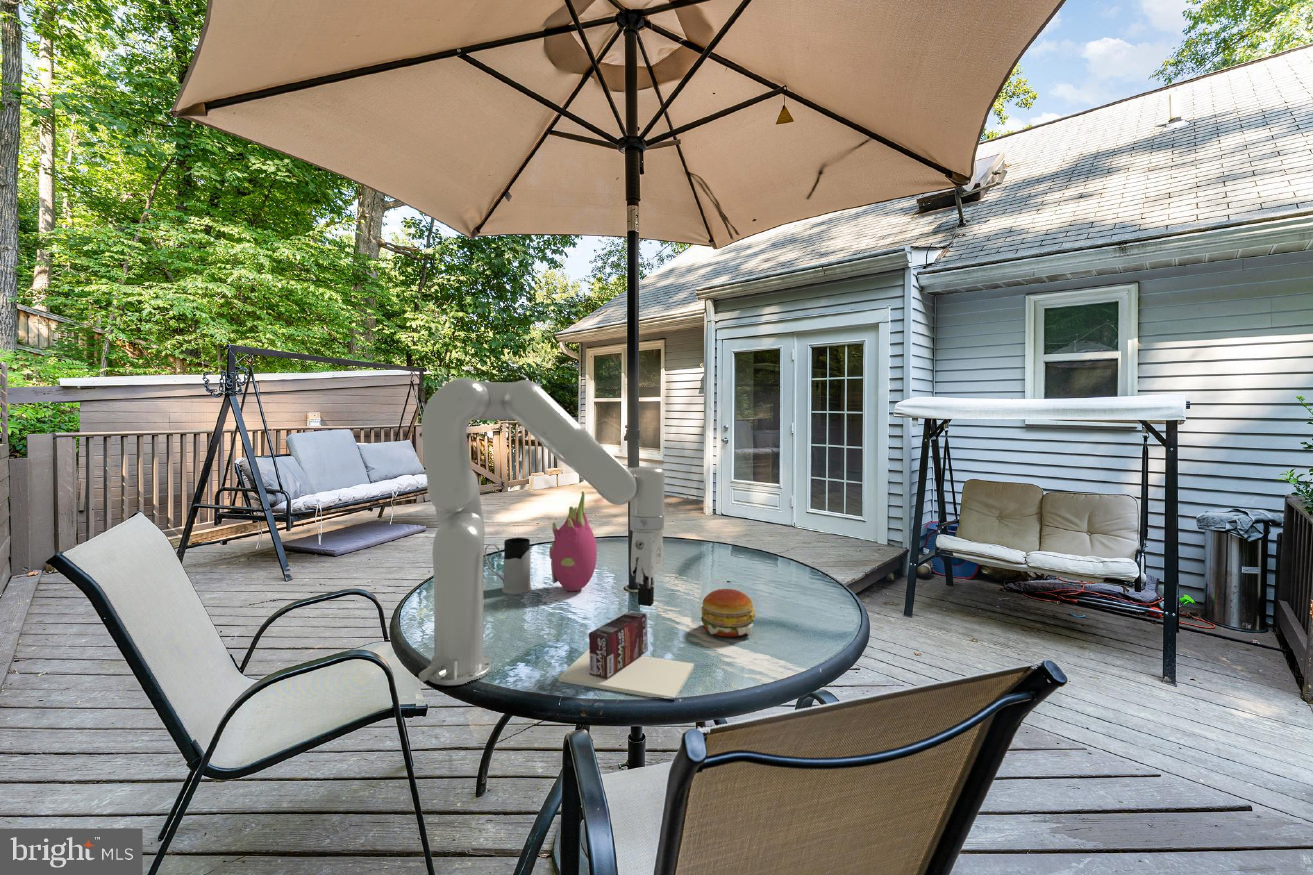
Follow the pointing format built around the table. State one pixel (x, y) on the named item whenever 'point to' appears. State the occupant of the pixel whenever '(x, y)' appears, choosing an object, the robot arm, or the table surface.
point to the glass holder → (515, 565)
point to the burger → (728, 613)
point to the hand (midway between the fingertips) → (645, 604)
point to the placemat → (634, 676)
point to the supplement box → (617, 644)
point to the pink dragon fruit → (573, 550)
